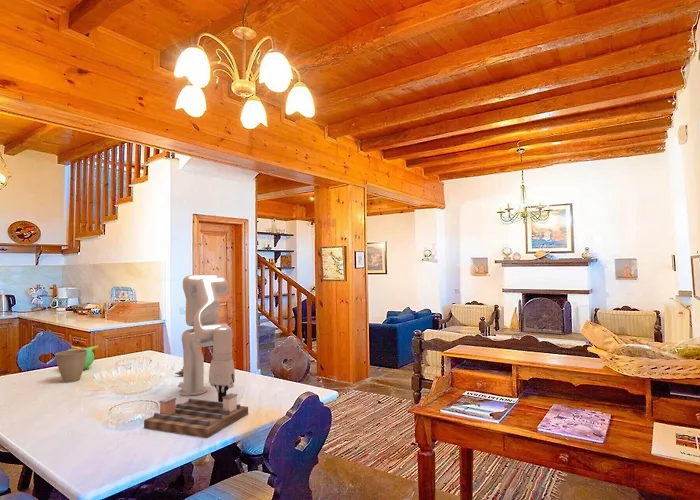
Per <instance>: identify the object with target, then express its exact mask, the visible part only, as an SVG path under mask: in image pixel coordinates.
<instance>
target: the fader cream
mask: <svg viewBox="0 0 700 500" xmlns="http://www.w3.org/2000/svg"><path fill="white" fill-rule="evenodd" d="M237 397H238V393H233V392H229V393H226V395H225V396H223V397H222V399H223V409H225V410H230V412H232V411H234V410H235V409H237V404H238V401H237V400H238V399H237Z"/></svg>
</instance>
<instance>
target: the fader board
mask: <svg viewBox="0 0 700 500" xmlns="http://www.w3.org/2000/svg"><path fill="white" fill-rule="evenodd" d="M187 400H188V401H185V402H183V403H177V404H176V403H175V413H174V414H172V415H167V414H160V412H159V413H158V412H156V413H153V415H152V416H150V417H148V418H146V419H144V420H143V429H149V430H154V431H163V432H168V433H174V434H175V433H176V434H181V435H187V436H195V437H201V438H207V439H208V438H209V437H211V436H214V435H215V434H217V433H218V432H219V431H222V430H223V429H225V428H226V427H228V426H230V425H232V424H234V423H235V422H238V420H240V419H242V418H245V416H247V415H249V406H245V405H241V404H239V403H237V409H235V410H234V411H232V412H230V410H225V409H223V402H218V401H215V400H214V401H213V400H206V399H205V400H204V399H198V398H195V399H194V398H188V399H187Z"/></svg>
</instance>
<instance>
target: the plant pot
mask: <svg viewBox="0 0 700 500" xmlns="http://www.w3.org/2000/svg"><path fill="white" fill-rule="evenodd" d="M68 350H69V349H68ZM86 356H87V350H69V351H67V350H63V351H59V352H56V353H55V360H56V364H57V369H58V372H59V374H60V377H61V379H62V382H63V383H73V382H77V381H79V380H80V379H81V378H82V374H83V371H84V370H85V369H84V365H85V361H86Z"/></svg>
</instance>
